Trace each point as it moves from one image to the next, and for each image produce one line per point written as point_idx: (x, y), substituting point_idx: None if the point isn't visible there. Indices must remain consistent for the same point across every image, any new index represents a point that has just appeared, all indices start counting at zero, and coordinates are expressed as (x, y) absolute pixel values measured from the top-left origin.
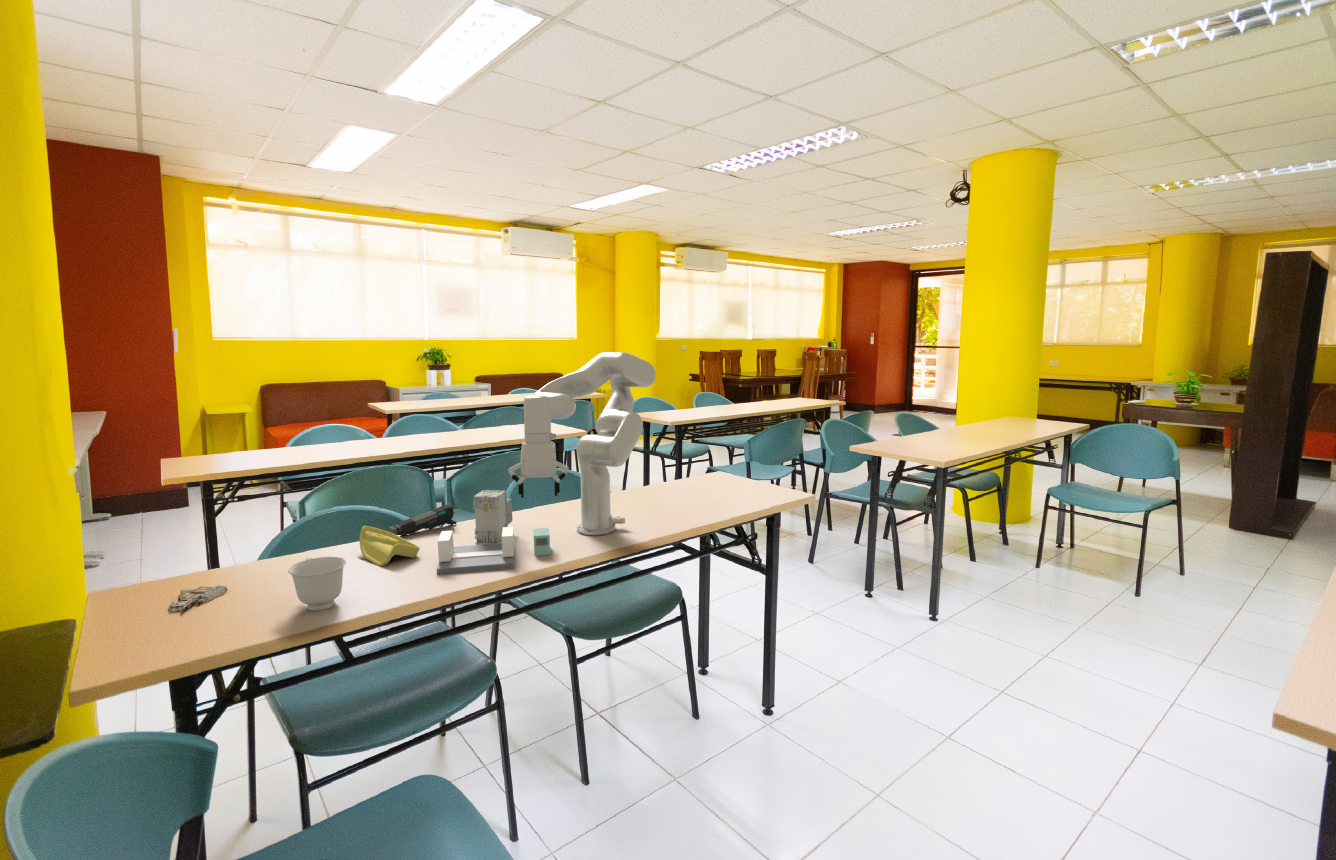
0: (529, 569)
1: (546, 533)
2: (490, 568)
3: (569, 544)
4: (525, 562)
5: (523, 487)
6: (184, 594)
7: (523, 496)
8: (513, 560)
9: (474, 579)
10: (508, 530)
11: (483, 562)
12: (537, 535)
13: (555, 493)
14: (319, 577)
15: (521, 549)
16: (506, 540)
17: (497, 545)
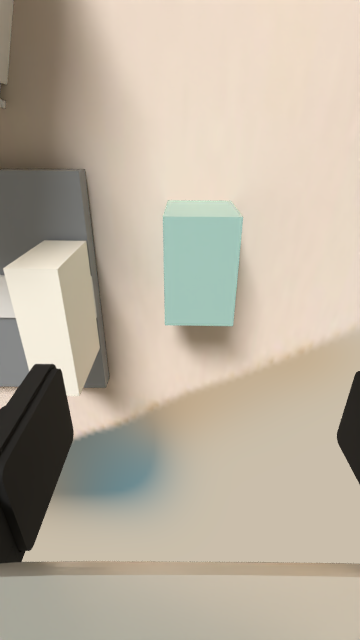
0: (154, 393)
1: (222, 303)
2: None
3: (318, 190)
4: (140, 343)
5: (36, 480)
6: None
7: (69, 442)
8: (103, 369)
9: None
10: (45, 326)
11: (11, 366)
12: (181, 321)
13: (350, 456)
14: None
15: (117, 208)
16: None
17: (11, 200)
